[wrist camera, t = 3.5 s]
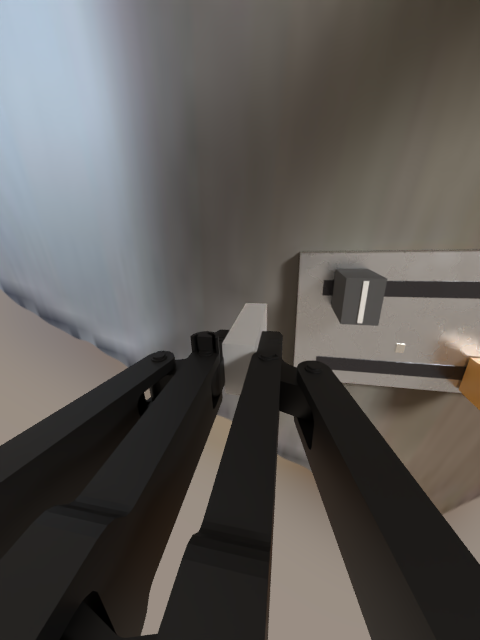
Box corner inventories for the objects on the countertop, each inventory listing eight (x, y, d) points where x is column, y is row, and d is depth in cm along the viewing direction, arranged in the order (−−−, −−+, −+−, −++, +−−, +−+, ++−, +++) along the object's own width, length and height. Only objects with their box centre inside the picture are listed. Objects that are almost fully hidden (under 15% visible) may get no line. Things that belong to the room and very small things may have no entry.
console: (299, 251, 26) (300, 253, 24) (633, 247, 20) (669, 249, 18) (292, 369, 31) (293, 378, 29) (555, 390, 26) (576, 403, 24)
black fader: (335, 268, 24) (346, 278, 19) (368, 268, 23) (387, 278, 18) (331, 306, 25) (340, 324, 20) (361, 307, 24) (378, 326, 20)
